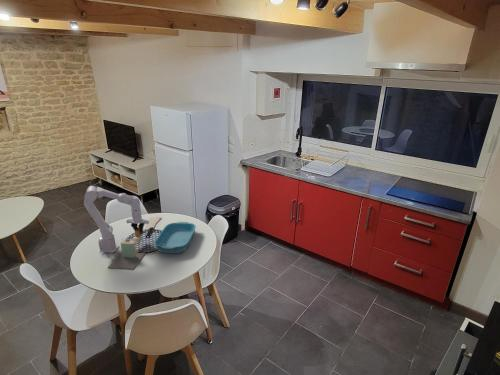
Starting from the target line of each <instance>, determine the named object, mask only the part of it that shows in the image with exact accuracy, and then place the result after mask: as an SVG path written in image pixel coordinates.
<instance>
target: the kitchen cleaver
mask: <svg viewBox="0 0 500 375" xmlns="http://www.w3.org/2000/svg"><path fill="white" fill-rule="evenodd" d="M161 219H162V216H156V217H151V218H150V220H149V223H148V224H146V227H145V230H148V231H147V232H146V234H145V236H146V237H147V236H149V235H150V233H151V232H153V231H152V230H154V228H155V226H156V224H157V223H158V222H159V221H160V220H161ZM151 234H152V233H151ZM150 236H151V235H150Z"/></svg>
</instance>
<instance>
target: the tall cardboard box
mask: <svg viewBox="0 0 500 375" xmlns="http://www.w3.org/2000/svg"><path fill="white" fill-rule="evenodd" d="M137 226H138V225H137ZM134 233H135V236H133V237H132V238H131V240H130V241H129V242H131V243H134V245H138V244H140V242H141V241H142V240H143V235H144V231H143V232H142V234H140V229H139V226H138V228H137V229H136V231H135V230H134Z"/></svg>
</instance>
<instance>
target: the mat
mask: <svg viewBox="0 0 500 375" xmlns="http://www.w3.org/2000/svg"><path fill="white" fill-rule="evenodd" d="M145 255H146V253H136V257H135V258H129V257H123V255H122V250H121V251H120V252H119V254H118V255H117V256H116V257H115V258H114V259H113V261H111V263H110V264H109V265H108V266H107V269H114V270H115V269H116V270H131V271H134V270H135V269H136V267H137V266H138V264H139V263H140V262H141V260H142V259H143V258H144V257H145Z"/></svg>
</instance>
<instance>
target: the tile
mask: <svg viewBox="0 0 500 375" xmlns="http://www.w3.org/2000/svg"><path fill="white" fill-rule="evenodd" d="M135 245H136V244H135V243H131V242H130V241H126V242H125V241H121V242H120V249H121V251H122V255H123V257H129V258H135V257H136V252H137V251H136V246H135Z"/></svg>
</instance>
